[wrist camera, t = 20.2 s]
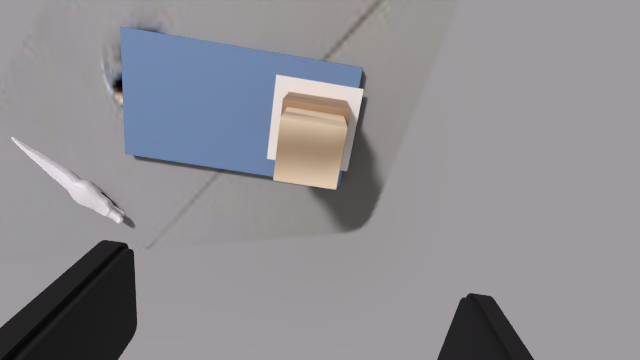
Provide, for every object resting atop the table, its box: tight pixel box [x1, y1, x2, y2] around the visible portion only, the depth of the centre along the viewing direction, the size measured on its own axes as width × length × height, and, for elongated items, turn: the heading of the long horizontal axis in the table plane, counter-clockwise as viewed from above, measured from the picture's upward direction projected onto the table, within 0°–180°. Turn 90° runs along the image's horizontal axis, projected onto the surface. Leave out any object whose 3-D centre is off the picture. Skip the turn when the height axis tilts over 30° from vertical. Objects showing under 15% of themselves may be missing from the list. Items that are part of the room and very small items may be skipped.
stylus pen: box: [11, 137, 126, 224], centre depth 39 cm, size 15×3×2 cm, turn 48°
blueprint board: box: [120, 27, 364, 187], centre depth 36 cm, size 24×13×1 cm, turn 81°
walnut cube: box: [281, 92, 351, 174], centre depth 33 cm, size 6×6×6 cm
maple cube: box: [273, 107, 348, 190], centre depth 28 cm, size 5×5×5 cm
